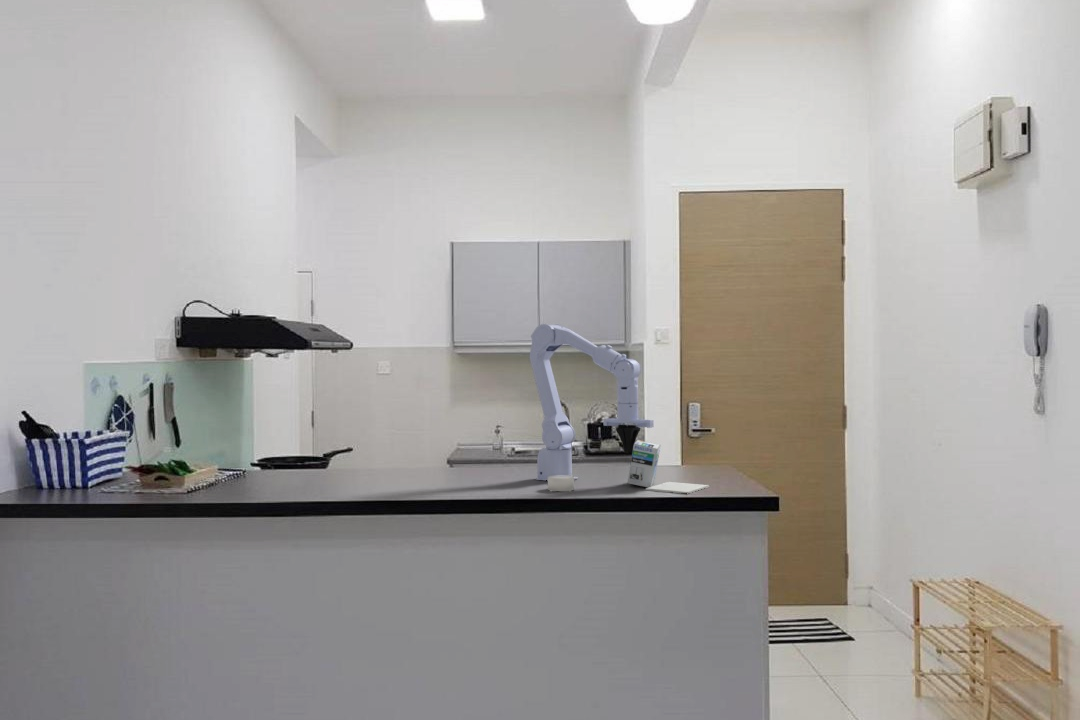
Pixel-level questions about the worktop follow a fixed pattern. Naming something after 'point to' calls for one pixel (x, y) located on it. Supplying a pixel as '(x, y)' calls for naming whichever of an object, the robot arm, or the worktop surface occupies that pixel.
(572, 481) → the pale rounded bar
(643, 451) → the light bulb box
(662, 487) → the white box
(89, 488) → the worktop surface
